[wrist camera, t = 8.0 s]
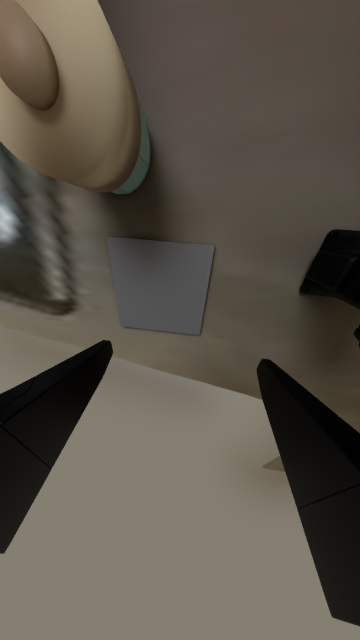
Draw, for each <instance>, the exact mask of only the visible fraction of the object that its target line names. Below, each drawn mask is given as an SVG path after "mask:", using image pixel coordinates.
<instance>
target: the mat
mask: <svg viewBox="0 0 360 640" xmlns="http://www.w3.org/2000/svg"><path fill="white" fill-rule="evenodd" d="M106 242H107V247H108V253H109V259H110V265H111V271H112V277H113V283H114V289H115V295H116V301H117V306H118V312H119V318H120V324H121V326H122V327H131V328H140V329H149V330H157V331H166V332H175V333H184V334H193V335H200V330H201V324H202V318H203V312H204V306H205V300H206V295H207V289H208V283H209V277H210V271H211V265H212V259H213V253H214V247H215V246H214V245H204V244H192V243H180V242H168V241H156V240H144V239H132V238H120V237H106Z"/></svg>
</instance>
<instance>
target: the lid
mask: <svg viewBox="0 0 360 640" xmlns="http://www.w3.org/2000/svg"><path fill="white" fill-rule="evenodd" d="M0 141H1V142H2V143H3V144H4V146H5V147H6V148H7V149H8V150H9V151H10V152H11V153H12V154H14V155H15V156H16V157H17V158H18V159H19V160H21V161H22V162H23V163H24V164H26V165H27V166H29V167H30V168H32V169H34V170H35V171H37V172H40V173H42V174H44V175H47V176H50V177H52V178H55V179H58V180H61V181H64V182H67V183H70V184H73V185H75V186H78V187H81V188H84V189H87V190H90V191H93V192H99V193H104V192H110V191H113V190H115V189H117V188H119V187H120V186H122V185H123V184H124V183H125V182H126V181H127V179H128V178H129V177H130V175H131V173H132V172H133V170H134V168H135V165H136V163H137V159H138V156H139V151H140V146H141V114H140V108H139V102H138V98H137V94H136V90H135V87H134V84H133V81H132V78H131V75H130V73H129V71H128V69H127V66H126V64H125V62H124V59H123V57H122V55H121V53H120V50H119V48H118V46H117V44H116V41H115V39H114V37H113V34H112V32H111V30H110V28H109V25H108V23H107V21H106V18H105V16H104V14H103V12H102V9H101V7H100V5H99V3H98V0H0Z"/></svg>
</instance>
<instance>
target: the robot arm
mask: <svg viewBox="0 0 360 640" xmlns="http://www.w3.org/2000/svg"><path fill="white" fill-rule="evenodd" d="M334 233H335V234H336V235H335V236H334V237H332V236H333V234H334ZM306 288H307V289H306ZM304 289H306V290H305V291H304ZM300 292H301V293H303V294H309V295H320V296H330V297H336V298H338V299H340V300H342V301H344V302H346V303H348V304H350V305H352V306H354V307H356V308H358V309H360V231H352V230H338V229H335V230H332V231H330V232H329V233H328V234H327V236H326V238H325V240H324V242H323V244H322V246H321V248H320V250H319V252H318V253H317V255H316V257H315V259H314V261H313V263H312V265H311V267H310V269H309V271H308V273H307V275H306V278H305V280H304V282H303V284H302V286H301V288H300ZM354 335H355V337H356V338H357V339H358V341H359V347H360V325H359V327H358V328H356V330H355V332H354ZM112 354H113V349H112V344H111V342H110V341H107V340H103V341H101V342H99V343H97V344H95V345H93V346H91V347H89V348H87V349H86V350H84V351H82V352H80V353H78V354H76V355H74V356H73V357H71V358H69V359H67V360H65V361H63V362H61V363H59V364H58V365H55V366H54V367H52V368H50V369H48V370H46V371H44V372H42V373H40V374H39V375H37V376H36V377H33V378H31V379H29V380H27V381H25V382H23V383H22V384H20V385H17V386H16V387H14V388H12V389H10V390H8V391H6V392H4V393H1V394H0V554H3V553H5V551H6V550H7V548H8V546H9V545H10V543H11V541H12V539H13V537H14V535H15V534H16V532H17V530H18V528H19V527H20V525H21V523H22V521H23V519H24V518H25V516H26V514H27V512H28V510H29V509H30V507H31V505H32V503H33V502H34V500H35V498H36V496H37V495H38V493H39V491H40V489H41V487H42V486H43V484H44V482H45V480H46V478H47V477H48V475H49V473H50V471H51V468H52V467H53V466H54V464H55V462H56V460H57V458H58V457H59V455H60V453H61V451H62V449H63V448H64V446H65V444H66V442H67V440H68V439H69V437H70V435H71V433H72V431H73V430H74V428H75V426H76V424H77V423H78V421H79V419H80V417H81V415H82V413H83V412H84V410H85V408H86V406H87V405H88V403H89V401H90V399H91V397H92V396H93V394H94V392H95V390H96V388H97V387H98V385H99V383H100V381H101V379H102V378H103V375H104V373H105V371H106V369H107V366H108V364H109V361H110V359H111V357H112ZM257 376H258V381H259V386H260V391H261V395H262V399H263V403H264V406H265V409H266V412H267V415H268V418H269V422H270V425H271V428H272V431H273V434H274V437H275V440H276V444H277V447H278V450H279V453H280V456H281V459H282V462H283V466H284V469H285V472H286V475H287V478H288V481H289V485H290V488H291V491H292V494H293V497H294V500H295V503H296V506H297V508H298V509H297V510H298V513H299V516H300V519H301V523H302V526H303V529H304V532H305V535H306V538H307V542H308V545H309V548H310V551H311V554H312V557H313V560H314V564H315V567H316V570H317V573H318V576H319V579H320V582H321V586H322V589H323V592H324V595H325V598H326V601H327V604H328V607H329V610H330V613H331V616H332V617H333V618H335V619H338V620H341V621H344V622H348V623H351V624H354V625H357V626H360V433H359V432H357V431H356V430H355V429H354V428H352V427H351V426H350V425H349V424H348V423H346V422H345V421H344V420H343V419H341V418H340V417H338V415H337V414H335V413H334V412H333V411H332V410H330V409H329V408H328V407H327V406H326V405H324V404H323V403H322V402H321V401H320V400H318V399H317V398H316V397H315V396H314V395H312V394H311V393H310V392H309V391H307V390H306V389H305V388H304V387H303V386H301V385H300V384H299V383H298V382H297V381H295V380H294V379H293V378H292V377H290V376H289V375H288V374H287V373H286V372H284V371H283V370H282V369H281V368H280V367H278V366H277V365H276V364H275V363H273V362H272V361H271V360H269V359H262V360H261V361H260V363H259V365H258V367H257Z"/></svg>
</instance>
